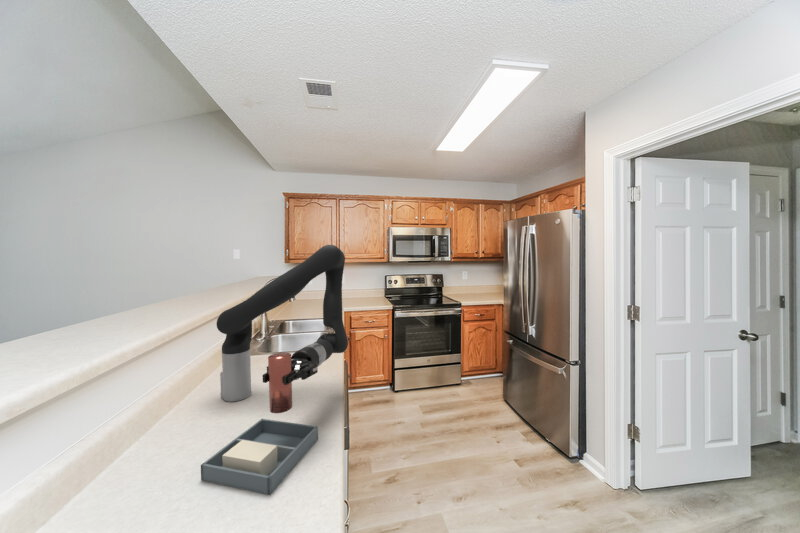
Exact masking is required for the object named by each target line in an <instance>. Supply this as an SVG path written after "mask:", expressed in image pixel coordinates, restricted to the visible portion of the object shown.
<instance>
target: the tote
mask: <svg viewBox="0 0 800 533" xmlns="http://www.w3.org/2000/svg"><path fill="white" fill-rule="evenodd" d="M241 440H246V441H252V442H258V443H264V444H271V445H277V458H278V466H277V467H276V468H275V469H274V470H273V472H272V473H271V474H270V475H269V476H267V475H262V474H257V473H251V472H246V471H241V470H236V469H230V468H225V467H223V459H222V455H224V454H225V453H226V452H227V451H229V450H230V449H231V448H233V447H234V446H235V445H236V444H238V443H239V442H240V441H241ZM318 440H319V427H318V425H317V426H316V425H309V424H303V423H302V424H301V423H295V422H288V421H281V420H274V419H267V418H261V419H259V420H258V421H256V422H255V423H254V424H253V425H252V426H249V428H247V429H246V430H244V432H242V433H241V434H240V435H238V436H237V437H236V438H234V439H233V440H232V441H230V442H229V443H227V444H226V445H225V446H224V447H223V448H221V449H220V450H218V451H217V452H216V453H215V454H213V455H212V456H210V457H209V458H208V459H207V460H205V461H204V462H203V463H201V464H200V480H201V481H202V482H207V483H212V484H216V485H221V486H226V487H232V488H235V489H241V490H244V491H245V490H246V491H250V492H254V493H260V494H265V495H269V496H270V495H272V493H274V491H275V490H276V488H277V487H278V486H279V485H280V484H281V483H282V481H283V480H284V479H285V478H286V477H287V476H288V475H289V473H290V472H291V471H292V470H293V468H295V467H296V465H297V464H298V463H299V462H300V461H301V459H302V458H304V456H305V455H306V454H307V452H309V450H310V449H311V448H312V447H313V446H314V445H315V443H316V442H317V441H318Z"/></svg>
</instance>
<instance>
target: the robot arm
mask: <svg viewBox="0 0 800 533" xmlns="http://www.w3.org/2000/svg"><path fill="white" fill-rule="evenodd" d="M345 263H346V257H345V253H344V251H342V250H341V249H340V248H339V247H338V246H337V245H334V244H326V245H323V246H322V247H320V248H319V249H318V250H316V251H315V252H314V253H313V254H311V255H310V256H309V257H307V259H304V261H302V262H301V263H299V264H297V265H295V266H294V267H292V268H290V269H289V270H287V271H286V272H284V273H282V274H281V275H280V276H277V277H275V279H274V278H273V280H271V281H270V282H269V283H266V284H265V285H264V286H263V287H261V288H260V289H259V290H257V291H256V292H255V293H253V294H252V295H251V296H250V297H248V298H246V299H245V300H243V301H242V302H240V303H237V304H236V305H234V306H233V307H232V306H231V307H230V308H228V309H226V310H224V311H222V312H221V313H220V314H219V316H218V317H217V320H216V328H217V331H218V332H220V333H222V334H224V335H226V336H225V339H224V341H223V343H222V345H221V361H222V362H221V363H222V371H221V372H220V374H219V376H220V378H219V380H220V398H221V400H223V401H225V402H231V403H233V402H239V401H242V400H245V399H247V398H249V397H250V396H251V395H252V369H251V367H252V366H251V365H252V364H251V362H252V361H251V342H252V338H253V320H255V319H256V318H258V317H259V316H262V315H263V314H265V313H267V312H269V311H271V310H274V309H277V308H278V307H280V306H281V305H284V303H286V302H288V301H289V300H291V299H292V298H294V297H296V296H297V295H299V294H300V293H301V291H303V290H304V289H305V288H306V286H307V285H308V284H309V283H310V282H311V281H312V280H314V279H315V278H317V277H319V276H320V275H323V273H324V274H325V288H324V289H325V290H324V296H323V304H322V323H323V326H325V327H327V328H331V329H333V332H334V333H332V332H331V333H330V332H329V333H324V334H321V335H320V336H319V337H318V339H317V340H316V341H314V342H313V343H310V344H307V345H305V346H304V347H302V348H300V349H298V350H296V351H295V352H293V354H291V372H290V373H289V374H287V375H286V376H284V378H283V380H284V385H288V384H289V383H291V382H292V383H293V382H294V381H297V380H299V379H301V380H303V381H304V380H306V379H309V378H310V377H312V376H314V375H316V374H317V373H318V372H319V371H318V368H319V366H321V365H322V364H323V363H325V361H327V360H329V358H330V357H331V356H332V355H333V354H342V353H345V352H346V350H347V349H348V345H349V340H348V339H349V338H348V336H347V335H348V334H347V332H346V329H345V325H344V320H343V277H344V276H343V275H344V271H345V270H344V269H345ZM262 383H269V368H268V366H266V372H265V373H263V374H262Z"/></svg>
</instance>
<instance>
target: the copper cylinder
mask: <svg viewBox="0 0 800 533" xmlns="http://www.w3.org/2000/svg"><path fill="white" fill-rule="evenodd" d="M291 357H292V353H290V352H285V351H284V352H277V353H272V354H270V355H269V356H268V357H267V361H268V362H267V363H268V365H267V367H268V368H269V381H268V390H269V391H268V393H269V397H268V398H269V412H270V413H272V414H282V413H285V412H288V411H289V410H291V409H292V408H293V381H292V382H291V383H289V384H288V385H284V380H283V378H284V376H286V375H287V374H289V373H290V372H291Z"/></svg>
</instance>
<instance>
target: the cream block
mask: <svg viewBox="0 0 800 533" xmlns="http://www.w3.org/2000/svg"><path fill="white" fill-rule="evenodd" d="M222 459H223V467H225V468H230V469H236V470H241V471H246V472H251V473H257V474H262V475H267V476H269V475H270V474H271V473H272V472H273V470H274V469H275V468H276V467H277V466H278V458H277V445H271V444H264V443H258V442H252V441H246V440H241V441H240V442H239V443H238V444H236V445H235V446H234V447H233V448H231V449H230V450H229V451H227V452H226V453H225V454H224V455H222Z"/></svg>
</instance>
